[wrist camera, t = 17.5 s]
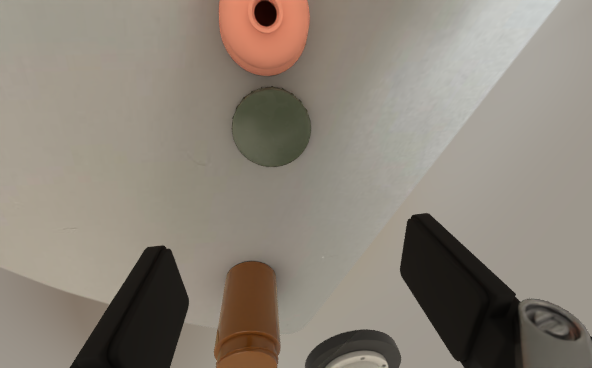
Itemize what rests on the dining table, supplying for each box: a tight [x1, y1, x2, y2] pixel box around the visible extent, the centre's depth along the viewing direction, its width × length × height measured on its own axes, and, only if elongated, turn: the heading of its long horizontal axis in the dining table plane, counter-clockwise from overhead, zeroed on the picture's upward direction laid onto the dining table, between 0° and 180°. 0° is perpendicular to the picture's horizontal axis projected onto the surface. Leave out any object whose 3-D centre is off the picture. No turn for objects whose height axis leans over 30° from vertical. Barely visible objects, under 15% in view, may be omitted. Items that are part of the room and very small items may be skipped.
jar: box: [214, 261, 280, 368], centre depth 28 cm, size 6×6×11 cm
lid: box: [232, 86, 311, 167], centre depth 23 cm, size 7×7×2 cm
